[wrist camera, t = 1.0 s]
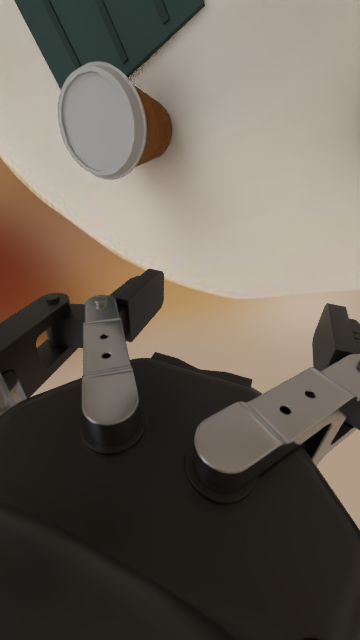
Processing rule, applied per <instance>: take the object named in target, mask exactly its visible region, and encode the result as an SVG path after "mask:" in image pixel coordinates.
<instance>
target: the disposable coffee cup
mask: <svg viewBox="0 0 360 640" xmlns="http://www.w3.org/2000/svg"><path fill="white" fill-rule="evenodd" d="M58 120H59V127H60V131H61V135H62V138H63V141H64V143H65V145H66V147H67V149H68V151H69V152H70V154H71V156H72V157H73V158H74V159H75V161H76V162H77V163H78V164H79V165H80V166H81V167H82V168H84V169H85V170H87V171H88V172H90V173H92V174H93V175H95V176H97V177H100V178H103V179H110V180H112V179H118V178H121V177H123V176H125V175H127V174H128V173H130V172H131V171H132V170H133V168H135V167H137V166H139V165H141V164H143V163H146V162H148V161H150V160H152V159H154V158H157V157H159V156H161V155H162V154H163V153H164V152H165V151H166V149H167V148H168V146H169V144H170V141H171V136H172V125H171V120H170V117H169V115H168V113H167V111H166V110H165V108H164V107H163V106H162V105H161V104H160V103H158V102H157V101H155V100H154V99H153V98H151V97H150V96H148V95H147V94H146V93H144V92H143V91H141V90H140V89H139V88H137V87H136V86H134V85H133V84H132V82H131V81H130V80H129V79H128V77H127V76H126V75H125V74H124V73H123V72H122V71H120V70H119V69H118V68H116V67H114V66H113V65H111V64H108V63H105V62H99V61H97V62H89V63H87V64H85V65H83V66H81V67H80V68H78V69H77V70H75V71H74V72H72V73H71V74H70V75H69V77H68V78H67V79H66V80H65V83H64V85H63V87H62V89H61V92H60V96H59V102H58Z"/></svg>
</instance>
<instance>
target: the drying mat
mask: <svg viewBox="0 0 360 640" xmlns="http://www.w3.org/2000/svg"><path fill="white" fill-rule="evenodd" d="M15 2H16V4H17V6H18V8H19V10H20V12H21V14H22V16H23V18H24V20H25V22H26V24H27V25H28V27H29V29H30V31H31V33H32V35H33V37H34V39H35V41H36V43H37V45H38V47H39V48H40V50H41V52H42V54H43V56H44V58H45V60H46V62H47V64H48V66H49V68H50V70H51V72H52V73H53V75H54V77H55V79H56V81H57V83H58V85H59V87H60V89H62V87H63V85H64V83H65V80H66V79H67V78H68V77H69V75H70V74H71V73H72V72H74V71H75V70H77V69H78V68H80V67H81V66H83V65H85V64H87V63H89V62H97V61H99V62H105V63H108V64H111V65H113V66H114V67H116V68H118V69H119V70H120V71H122V72H123V73H124V74H125V75H126V76H127V77H128V76H129V75H131V74H132V73H133V72H134V71H135V70H136V69H137V68H138V67H139V66H140V65H141V64H142V63H143V62H145V61H146V60H147V59H148V58H149V57H150V56H151V55H152V54H153V53H154V52H155V51H156V50H157V49H158V48H160V47H161V46H162V45H163V44H164V43H165V42H166V41H167V40H168V39H169V38H170V37H171V36H172V35H174V34H175V33H176V32H177V31H178V30H179V29H180V28H181V27H182V26H183V25H184V24H185V23H186V22H187V21H189V20H190V19H191V18H192V17H193V16H194V15H195V14H196V13H197V12H198V11H199V10H200V9H201V8H203V7H204V6H205V4H204V1H203V0H15Z"/></svg>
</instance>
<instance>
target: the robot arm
mask: <svg viewBox="0 0 360 640" xmlns="http://www.w3.org/2000/svg"><path fill="white" fill-rule="evenodd" d="M163 300H164V274H163V272H162V271H158V270H153V269H148V270H147V271H145V272H144V273H143V274H142V275H140V276H136V277H134V278H131V279H129V280H128V281H127V282H126V283H125V284H123V285H122V286H121V287H119V288H118V289H117V290H115V291H114V292H113V293H112V294H110V295H109V296H108V295H98V296H94V297H91V298H89V299H87V300H86V302H85V304H70V301H69V297H68V296H67V295H66V294H63V293H51V294H47V295H44V296H42V297H40V298H39V299H37V300H35V301H34V302H32V303H31V304H29V305H28V306H26V307H25V308H23V309H21V310H20V311H19V312H17V313H15V314H14V315H12V316H11V317H9V318H7V319H6V320H4V321H3V322H1V323H0V640H360V530H359V529H358V527H357V525H356V524H355V522H354V521H353V520H352V518H351V517H350V515H349V514H348V512H347V511H346V509H345V508H344V506H343V505H342V504H341V502H340V500H339V499H338V497H337V496H336V495H335V493H334V492H333V490H332V489H331V487H330V486H329V484H328V483H327V481H326V480H325V478H324V477H323V475H322V474H321V473H320V471H319V470H318V468H317V467H316V466H317V464H318V463H319V462H320V461H321V460H322V458H323V457H324V456H325V455H326V454H327V453H328V452H329V451H330V450H332V449H333V448H334V447H335V446H336V445H338V444H339V443H340V442H341V441H343V440H344V439H345V438H346V437H347V436H349V435H350V434H351V433H352V432H353V431H355V430H356V429H359V430H360V324H359V323H358V322H357V321H356V320H353V319H349V318H348V314H347V310H346V307H343V306H338V305H333V304H328V303H327V304H326V305H325V307H324V310H323V312H322V315H321V318H320V320H319V323H318V325H317V328H316V330H315V333H314V337H313V344H312V345H313V363H314V364H313V365H314V367H311V368H309V369H307V370H305V371H303V372H301V373H300V374H298V375H296V376H294V377H293V378H291V379H289V380H287V381H285V382H283V383H282V384H280V385H278V386H276V387H274V388H273V389H271V390H269V391H267V392H265V393H264V394H262V393H260V392H259V391H257V390H255V389H254V388H252V387H251V383H252V379H249V378H245V377H241V376H238V375H234V374H231V373H227V372H219V371H209V370H200V369H197V368H195V367H193V366H191V365H189V364H187V363H185V362H184V361H182V360H180V359H178V358H174V357H171V356H167V355H164V354H160V353H156V352H155V353H154V355H153V356H152V358H139V359H132V360H130V359H129V355H128V350H127V345H126V341H129V342H132V341H133V340H134V339H135V337H136V336H137V335H138V334H139V333H140V332H141V331H142V329H143V328H144V327H145V326H146V325H147V324H148V322H149V321H150V320H151V319H152V318H153V317H154V316H155V314H156V313H157V312H158V311H159V310H160V308H161V307H162V304H163ZM44 331H46V335H47V338H48V339H47V340H46V341H45V342H43V343H42V344H41V345H40V346H39V347H38V348H36V340H37V338H38V336H39V335H40V334H41V333H43V332H44ZM77 348H83V376H82V378H80V379H78V380H75V381H72V382H70V383H67V384H64V385H62V386H59V387H57V388H54V389H51V390H49V391H46V392H43V393H41V394H38V395H35V396H33V397H30V396H31V395H32V394H33V393H34V392H35V391H36V390H37V389H38V388H39V387H40V386H41V385H42V384H43V383H44V382H45V381H46V380H47V379H48V378H49V377H50V376H51V375H52V374H53V373H54V372H55V371H56V370H57V369H58V368H59V367H60V366H61V365H62V364H63V363H64V362H65V361H66V360H67V359H68V358H69V357H70V356H71V355H72V354H73V353H74V352H75V351H76V350H77ZM29 397H30V398H29Z"/></svg>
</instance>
